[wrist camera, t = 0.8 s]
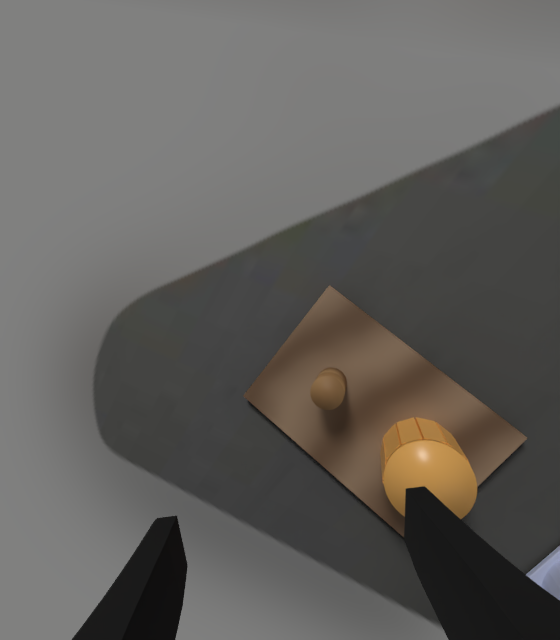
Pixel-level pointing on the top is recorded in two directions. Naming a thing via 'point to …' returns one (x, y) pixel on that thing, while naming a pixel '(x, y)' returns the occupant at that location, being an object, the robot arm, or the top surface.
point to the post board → (368, 400)
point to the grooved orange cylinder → (426, 465)
